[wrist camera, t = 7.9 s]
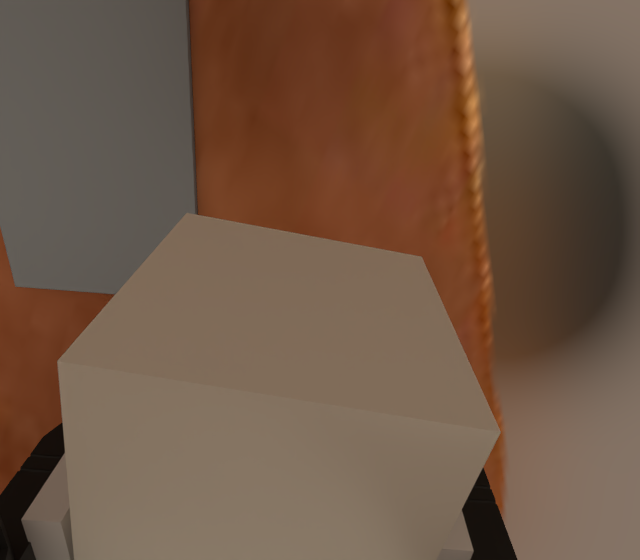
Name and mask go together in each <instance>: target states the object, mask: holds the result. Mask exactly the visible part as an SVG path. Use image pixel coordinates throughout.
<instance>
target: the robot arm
mask: <svg viewBox="0 0 640 560" xmlns="http://www.w3.org/2000/svg"><path fill="white" fill-rule="evenodd" d="M0 560H74V553H73V541H72V529H71V517H70V506H69V494H68V482H67V470H66V458H65V446H64V434H63V423H61V424H60V425H58V426H57V427H56V428H54V429H53V430H52V431H50V432H49V433H48V434H46V435H45V436H44V437H43V438H42V439H41V441H40V442H39V443H38V445H37V446H36V447H35V449H34V450H33V452H32V453H31V456H30V457H28V458H27V460H26V461H25V462H24V464H23V465H22V466H21V469H20V471H18V472H17V473H16V475H15V476H14V477H13V479H12V480H11V481H10V483H9V484H8V485H7V487H6V488H5V490H4V491H3V492H2V494H1V495H0ZM436 560H517V558H516V555H515V552H514V549H513V546H512V544H511V541H510V539H509V536H508V533H507V530H506V528H505V525H504V522H503V520H502V517H501V514H500V511H499V509H498V506H497V504H496V503H495V498H494V495H493V493H492V490H491V489H490V484H489V482H488V479H487V476H486V474H485V471H484V468H482V470H481V472H480V474H479V476H478V478H477V480H476V482H475V484H474V486H473V488H472V490H471V492H470V494H469V496H468V498H467V500H466V502H465V504H464V506H463V508H462V510H461V512H460V514H459V516H458V518H457V520H456V522H455V524H454V526H453V528H452V530H451V532H450V534H449V536H448V538H447V540H446V542H445V544H444V546H443V548H442V550H441V552H440V554H439V556H438V558H437V559H436Z"/></svg>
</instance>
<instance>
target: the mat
mask: <svg viewBox="0 0 640 560" xmlns="http://www.w3.org/2000/svg"><path fill="white" fill-rule="evenodd" d="M186 213H190V214H196V215H198V209H197V186H196V163H195V140H194V117H193V93H192V70H191V47H190V24H189V1H188V0H0V227H1V231H2V235H3V239H4V243H5V247H6V251H7V255H8V259H9V263H10V267H11V271H12V275H13V279H14V283H15V286H16V287H29V288H42V289H55V290H68V291H80V292H93V293H106V294H116V293H117V292H118V291H119V290H120V289H121V287H122V286H123V285H124V284H125V283H126V282H127V281H128V279H129V278H130V277H131V276H132V275H133V274H134V273H135V271H136V270H137V269H138V268H139V267H140V266H141V265H142V263H143V262H144V261H145V260H146V259H147V258H148V257H149V255H150V254H151V253H152V252H153V251H154V250H155V249H156V247H157V246H158V245H159V244H160V243H161V242H162V240H163V239H164V238H165V237H166V236H167V235H168V234H169V232H170V231H171V230H172V229H173V228H174V227H175V226H176V224H177V223H178V222H179V221H180V220H181V219H182V218H183V216H184V215H185V214H186Z"/></svg>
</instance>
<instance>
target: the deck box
mask: <svg viewBox="0 0 640 560" xmlns="http://www.w3.org/2000/svg"><path fill="white" fill-rule="evenodd" d="M57 363H58V374H59V386H60V398H61V410H62V422H63V434H64V446H65V458H66V470H67V482H68V494H69V506H70V517H71V529H72V541H73V553H74V560H436V559H437V558H438V556H439V554H440V552H441V550H442V548H443V546H444V544H445V542H446V540H447V538H448V536H449V534H450V532H451V530H452V528H453V526H454V524H455V522H456V520H457V518H458V516H459V514H460V512H461V510H462V508H463V506H464V504H465V502H466V500H467V498H468V496H469V494H470V492H471V490H472V488H473V486H474V484H475V482H476V480H477V478H478V476H479V474H480V472H481V470H482V468H483V466H484V464H485V462H486V460H487V458H488V456H489V454H490V452H491V450H492V448H493V447H494V445H495V443H496V441H497V439H498V437H499V435H500V433H501V432H500V429H499V427H498V425H497V423H496V421H495V418H494V416H493V414H492V412H491V410H490V407H489V405H488V403H487V401H486V398H485V396H484V394H483V392H482V390H481V387H480V385H479V383H478V381H477V378H476V376H475V374H474V372H473V370H472V367H471V365H470V363H469V361H468V359H467V356H466V354H465V352H464V350H463V347H462V345H461V343H460V341H459V339H458V336H457V334H456V332H455V330H454V328H453V325H452V323H451V321H450V319H449V316H448V314H447V312H446V310H445V308H444V305H443V303H442V301H441V299H440V297H439V294H438V292H437V290H436V288H435V285H434V283H433V281H432V279H431V277H430V274H429V272H428V270H427V268H426V265H425V263H424V261H423V259H422V257H420V256H415V255H410V254H404V253H399V252H394V251H388V250H383V249H377V248H372V247H367V246H361V245H356V244H351V243H345V242H340V241H335V240H329V239H324V238H319V237H313V236H308V235H303V234H297V233H292V232H287V231H281V230H276V229H270V228H265V227H260V226H254V225H249V224H244V223H238V222H233V221H228V220H222V219H217V218H212V217H206V216H201V215H196V214H190V213H186V214H185V215H184V216H183V218H182V219H181V220H180V221H179V222H178V223H177V224H176V226H175V227H174V228H173V229H172V230H171V231H170V232H169V234H168V235H167V236H166V237H165V238H164V239H163V240H162V242H161V243H160V244H159V245H158V246H157V247H156V249H155V250H154V251H153V252H152V253H151V254H150V255H149V257H148V258H147V259H146V260H145V261H144V262H143V263H142V265H141V266H140V267H139V268H138V269H137V270H136V271H135V273H134V274H133V275H132V276H131V277H130V278H129V279H128V281H127V282H126V283H125V284H124V285H123V286H122V287H121V289H120V290H119V291H118V292H117V293H116V294H115V296H114V297H113V298H112V299H111V300H110V301H109V302H108V304H107V305H106V306H105V307H104V308H103V309H102V310H101V312H100V313H99V314H98V315H97V316H96V317H95V318H94V320H93V321H92V322H91V323H90V324H89V325H88V326H87V328H86V329H85V330H84V331H83V332H82V333H81V334H80V336H79V337H78V338H77V339H76V340H75V341H74V343H73V344H72V345H71V346H70V347H69V348H68V349H67V351H66V352H65V353H64V354H63V355H62V356H61V357H60V359H59V360H58V361H57Z"/></svg>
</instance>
